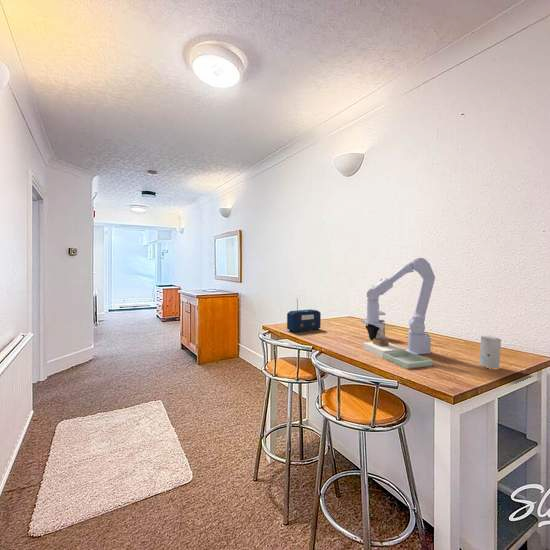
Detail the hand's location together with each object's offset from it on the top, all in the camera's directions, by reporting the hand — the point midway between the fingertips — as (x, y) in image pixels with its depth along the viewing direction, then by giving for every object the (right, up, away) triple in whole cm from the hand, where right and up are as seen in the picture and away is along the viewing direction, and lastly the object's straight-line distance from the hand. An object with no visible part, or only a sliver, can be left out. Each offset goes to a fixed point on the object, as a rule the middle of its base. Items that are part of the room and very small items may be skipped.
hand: (372, 340), depth 149 cm
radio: (-30, -3, +40) cm, 50 cm away
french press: (+9, -3, +21) cm, 23 cm away
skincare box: (+38, -5, -28) cm, 47 cm away
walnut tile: (+2, 0, -6) cm, 6 cm away
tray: (+7, -4, -22) cm, 24 cm away
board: (+3, -4, -8) cm, 9 cm away
